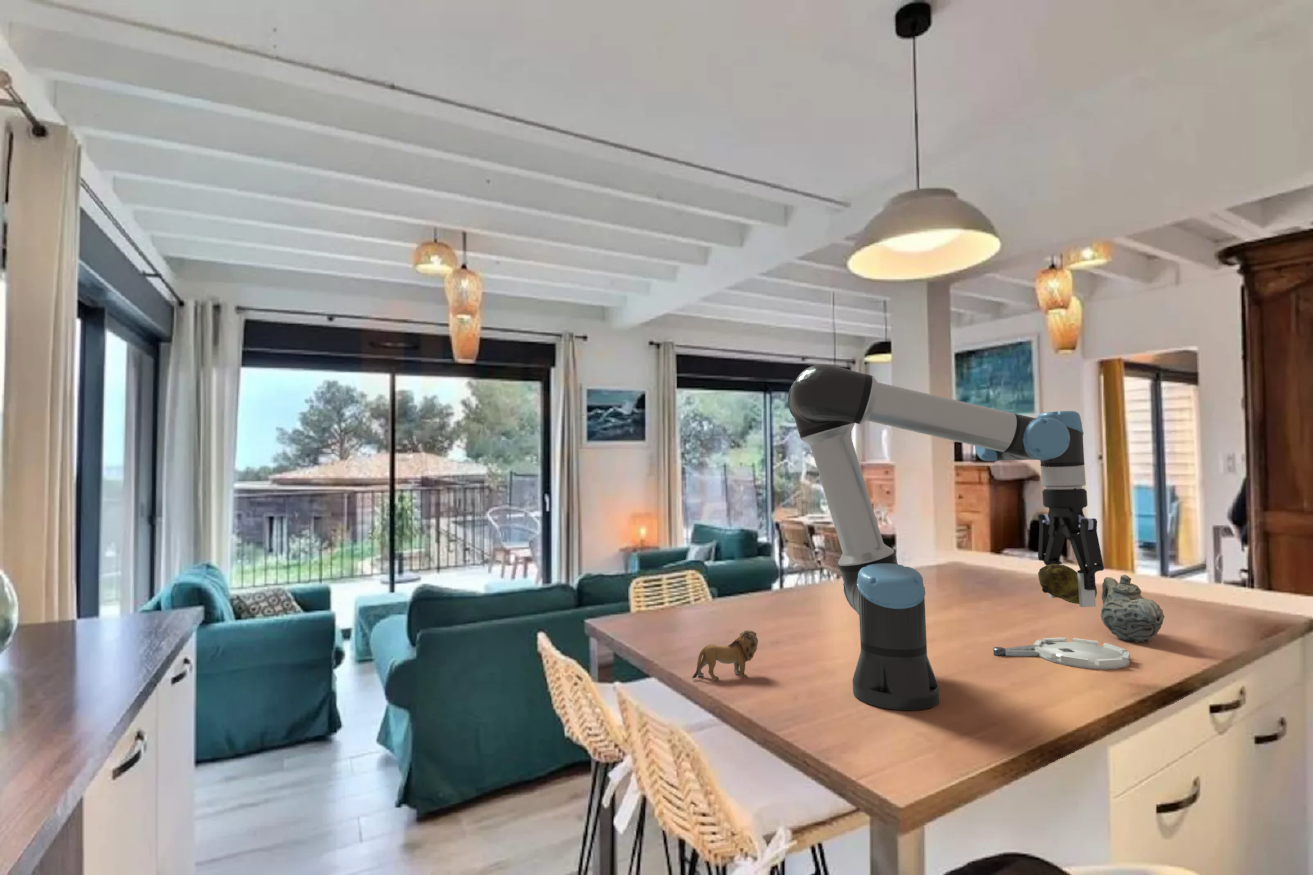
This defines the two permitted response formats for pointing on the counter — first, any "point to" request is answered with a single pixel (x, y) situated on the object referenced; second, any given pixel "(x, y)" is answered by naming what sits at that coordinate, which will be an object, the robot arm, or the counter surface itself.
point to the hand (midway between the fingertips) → (1071, 601)
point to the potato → (1060, 582)
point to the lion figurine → (729, 654)
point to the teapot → (1129, 611)
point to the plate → (1082, 653)
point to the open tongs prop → (1021, 650)
